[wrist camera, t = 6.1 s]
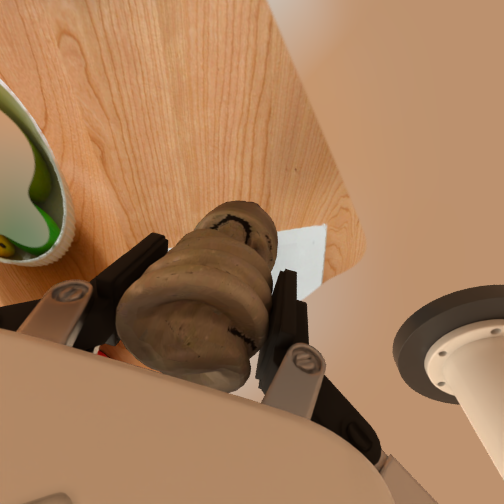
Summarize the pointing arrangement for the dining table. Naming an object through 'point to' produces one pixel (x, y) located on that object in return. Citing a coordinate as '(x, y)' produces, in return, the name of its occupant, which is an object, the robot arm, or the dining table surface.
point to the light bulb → (205, 300)
